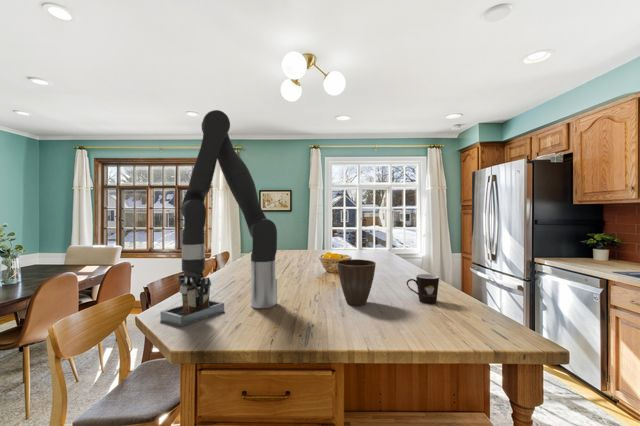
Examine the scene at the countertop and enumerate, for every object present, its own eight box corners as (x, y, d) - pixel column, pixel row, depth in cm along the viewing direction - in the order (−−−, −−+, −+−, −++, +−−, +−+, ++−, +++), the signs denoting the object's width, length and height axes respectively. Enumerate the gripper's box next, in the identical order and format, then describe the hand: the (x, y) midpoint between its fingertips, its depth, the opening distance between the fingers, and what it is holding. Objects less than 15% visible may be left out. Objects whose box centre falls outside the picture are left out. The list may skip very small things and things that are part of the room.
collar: (204, 306, 112) (204, 298, 112) (224, 311, 107) (224, 303, 107) (160, 320, 98) (160, 311, 98) (181, 326, 92) (181, 317, 92)
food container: (197, 305, 109) (197, 278, 109) (211, 307, 107) (211, 279, 107) (170, 316, 97) (170, 286, 97) (185, 318, 95) (185, 287, 95)
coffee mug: (441, 300, 118) (441, 275, 118) (437, 306, 111) (436, 279, 111) (412, 296, 124) (411, 272, 124) (406, 301, 117) (405, 276, 117)
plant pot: (383, 303, 115) (383, 262, 115) (360, 312, 105) (359, 267, 105) (353, 295, 126) (353, 258, 126) (329, 303, 115) (329, 262, 115)
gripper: (170, 257, 103) (171, 305, 103) (197, 260, 95) (197, 312, 95) (190, 254, 109) (190, 300, 109) (216, 257, 102) (216, 306, 102)
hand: (193, 305), depth 102 cm, fingers closed on food container, 5 cm apart
